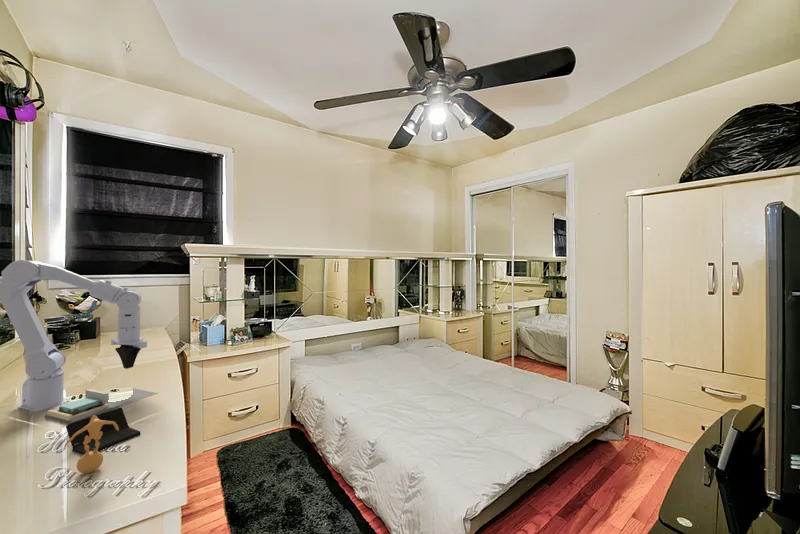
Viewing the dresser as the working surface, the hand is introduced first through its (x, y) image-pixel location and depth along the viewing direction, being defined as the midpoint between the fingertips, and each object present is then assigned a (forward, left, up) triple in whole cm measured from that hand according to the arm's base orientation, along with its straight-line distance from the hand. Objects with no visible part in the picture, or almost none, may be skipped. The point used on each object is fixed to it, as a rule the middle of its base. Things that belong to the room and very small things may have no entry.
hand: (128, 367), depth 108 cm
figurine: (+40, -31, -9) cm, 51 cm away
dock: (+4, -9, -8) cm, 13 cm away
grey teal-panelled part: (+5, -15, -7) cm, 17 cm away
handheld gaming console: (+28, -22, -9) cm, 36 cm away
